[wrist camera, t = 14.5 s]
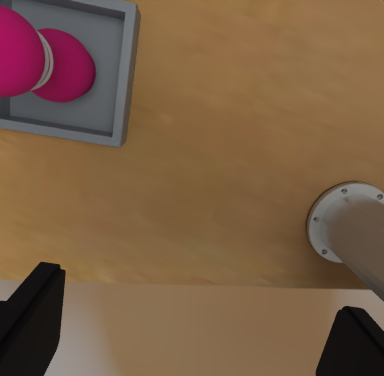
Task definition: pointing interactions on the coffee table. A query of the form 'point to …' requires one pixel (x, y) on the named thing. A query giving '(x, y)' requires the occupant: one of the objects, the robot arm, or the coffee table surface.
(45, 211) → the coffee table surface
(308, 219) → the robot arm
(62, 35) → the pepper mill
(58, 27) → the bin
